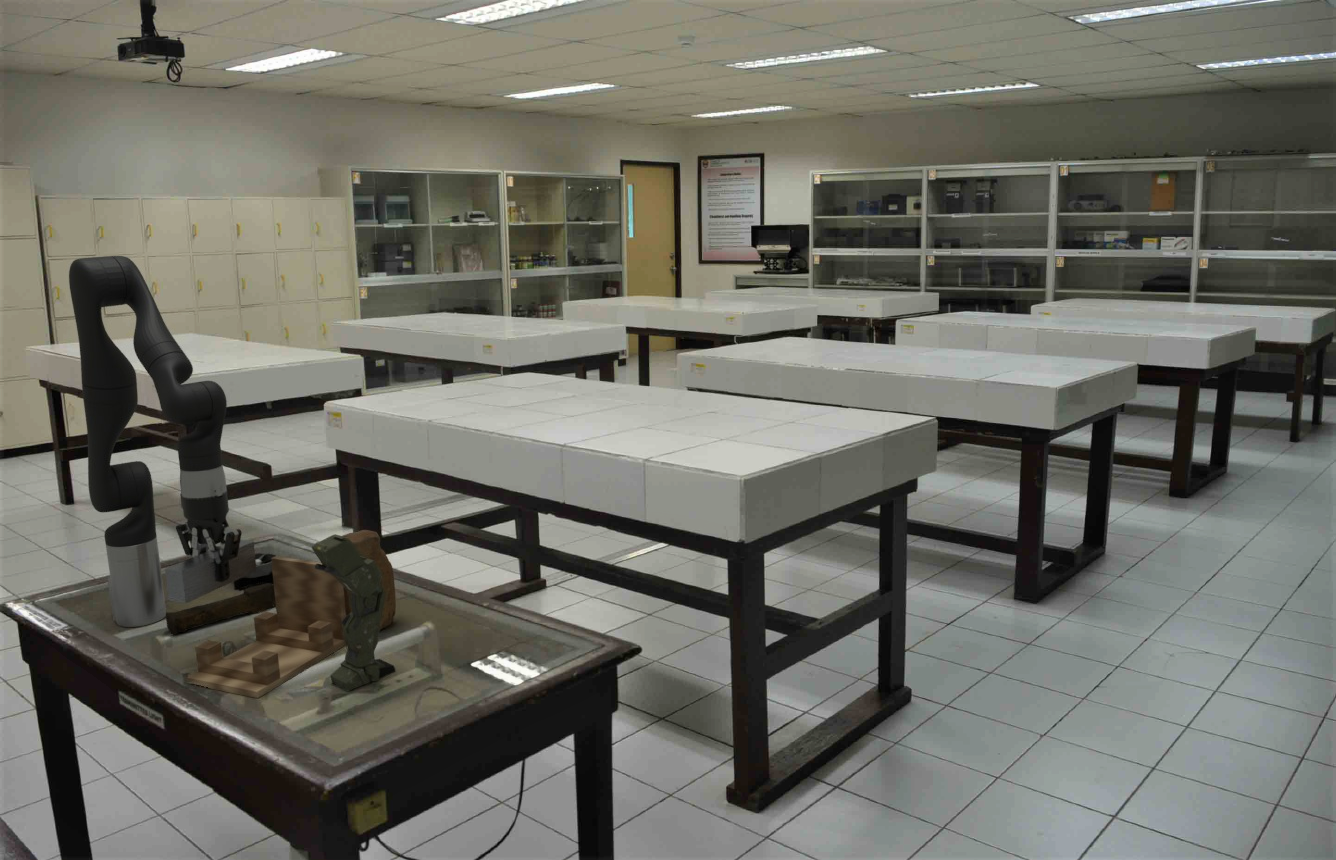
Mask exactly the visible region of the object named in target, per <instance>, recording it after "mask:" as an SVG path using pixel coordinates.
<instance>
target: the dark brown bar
mask: <svg viewBox="0 0 1336 860" xmlns="http://www.w3.org/2000/svg"><path fill="white" fill-rule="evenodd" d="M274 607H275V608H276V601H275V592H274V584H272V583H266V584H265V583H263V584H262V583H261V584H260V585H259V584H258V586H257V585H255V586H254V585H253V587H252V586H250V588H249V587H248V589H246V588H245V590H244V589H243V593H240V594H237V595H234V596H231V597H228V598H223V599H220V600H217V601H213V602H210V603H206V604H203V605H196V606H193V607H190V608H185V609H181V610H178V611H173V612H171V611H169V612H167V611H166V616H165V620H166V628H167V630H168V633H170V634H171V636H175V635H177V634H179V633H185V632H186V631H187V630H190V629H195V628H196V627H199V626H200V627H201V626H203V625H207V624H210V623H214V622H218V621H222V620H224V619H225V620H226V619H229V618H232V617H235V616H238V615H243V614H249V615H257V614H261V613H263V612H266V611H267V610H270V609H272V608H274Z"/></svg>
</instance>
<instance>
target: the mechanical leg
mask: <svg viewBox="0 0 1336 860" xmlns="http://www.w3.org/2000/svg"><path fill="white" fill-rule="evenodd" d="M311 549H312V551H313V552H314V554H315V555H316V556H317V559H318V560H319V561H320V563H322V565H321V564H316V565H315V569H318V570H322V571H325V572H327V573H331V574H332V575H333V576H334V577H335V578H336V579H337V580H338V581H339V582H340V583H341V584H342V586H343V587H344V588H345V589H346V590H347V591H348V592H350V605H351V609H352V612H351V613H350V614H349V615H346V616H345V618H344V619H343V620H342V621H341V622H342V624H343V636H344V639H345V642H346V648H347V650H346V653H345V657H344V660H343V661H342V662H341V663H340V666H339V667H338V668H337V669H336V670H334V672H332V673H331V674H330V675H329V676H330V679H331V680H330V681H331V684H333V685H335V686H337V687H339V688H341V689H343V690H345V691H347V692H350V691H352V690H354V689H356V688H359V687H362V686H365V685H367V684H369V683H370V682H375V681H379V680H380V679H382V678H384V677H386V676H389V675H390V674H392V673H394V672H396V668H395V666H394V665H393V664H391V663H389V662H388V661H385V660H383V659H380V658H377V659H375V650H376V648H377V646H378V643H379V636H380V631H381V629H380V624H381V618H382V612H383V607H384V603H385V597H386V591H385V590H384V589H383V588H382V573H381V571H380V569H379V568H378V566H377V565H376V563H375V562H374V560H371V559H368V558H365V557H362V556H361V554H360V553H359V551H358V550H357V549H356V547H355V546H354V545H353V543H352V542H351V540H350V539H349V538H346V537H343V535H340V534H332V535H330V536H328V537H326V538H324V539H323V540H320V541H317V542H315V543H314V544H313V545H311ZM379 630H380V631H379Z"/></svg>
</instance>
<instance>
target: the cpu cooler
mask: <svg viewBox="0 0 1336 860" xmlns="http://www.w3.org/2000/svg"><path fill="white" fill-rule="evenodd" d="M275 556H277V555H276V554H274V553H272V552H271V553H270V552H255V560H256V569H257V571H255V572H253V573H251V574H249V575H247V576H244V577H242V578H240V579H238V580H236V581H234V582H233V585H234V591H237V590H239V591H242V590H243V591H244V590H245V589H248V588H250V587H253V586H258V585H262V584H266V583H272V584H274V582H273V572H272V563H271V558H273V557H275Z"/></svg>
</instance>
